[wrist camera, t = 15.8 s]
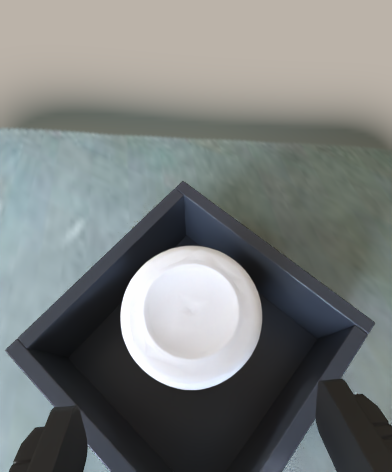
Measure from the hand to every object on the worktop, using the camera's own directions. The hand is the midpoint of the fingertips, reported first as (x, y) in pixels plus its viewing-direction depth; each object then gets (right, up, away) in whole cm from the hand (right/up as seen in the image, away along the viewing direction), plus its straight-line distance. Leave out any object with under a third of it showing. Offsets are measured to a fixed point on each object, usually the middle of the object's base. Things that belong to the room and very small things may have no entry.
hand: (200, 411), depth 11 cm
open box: (0, -2, +12) cm, 12 cm away
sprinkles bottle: (0, -2, +12) cm, 12 cm away
